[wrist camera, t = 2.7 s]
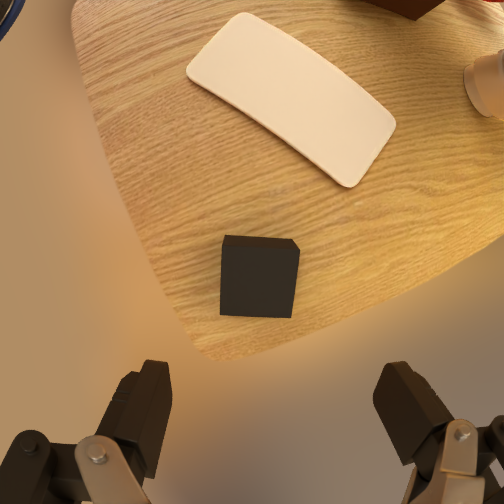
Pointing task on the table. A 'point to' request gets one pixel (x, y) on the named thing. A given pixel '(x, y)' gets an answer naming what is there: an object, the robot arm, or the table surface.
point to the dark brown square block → (258, 276)
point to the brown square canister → (407, 6)
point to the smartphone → (294, 96)
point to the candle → (486, 84)
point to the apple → (494, 0)
